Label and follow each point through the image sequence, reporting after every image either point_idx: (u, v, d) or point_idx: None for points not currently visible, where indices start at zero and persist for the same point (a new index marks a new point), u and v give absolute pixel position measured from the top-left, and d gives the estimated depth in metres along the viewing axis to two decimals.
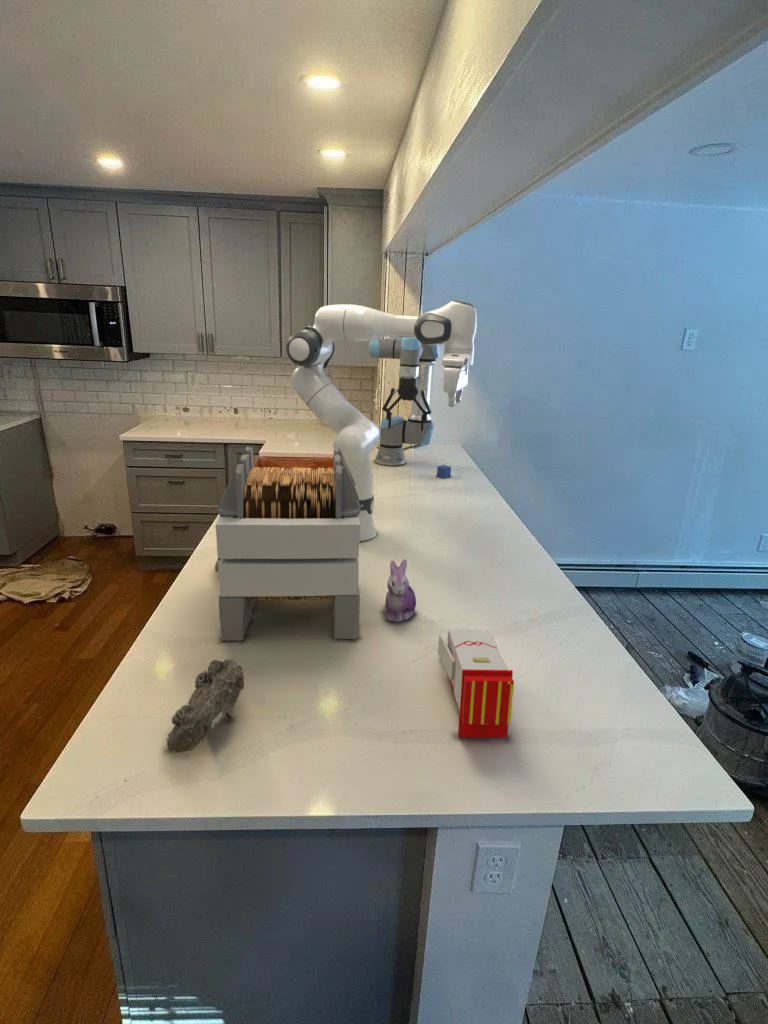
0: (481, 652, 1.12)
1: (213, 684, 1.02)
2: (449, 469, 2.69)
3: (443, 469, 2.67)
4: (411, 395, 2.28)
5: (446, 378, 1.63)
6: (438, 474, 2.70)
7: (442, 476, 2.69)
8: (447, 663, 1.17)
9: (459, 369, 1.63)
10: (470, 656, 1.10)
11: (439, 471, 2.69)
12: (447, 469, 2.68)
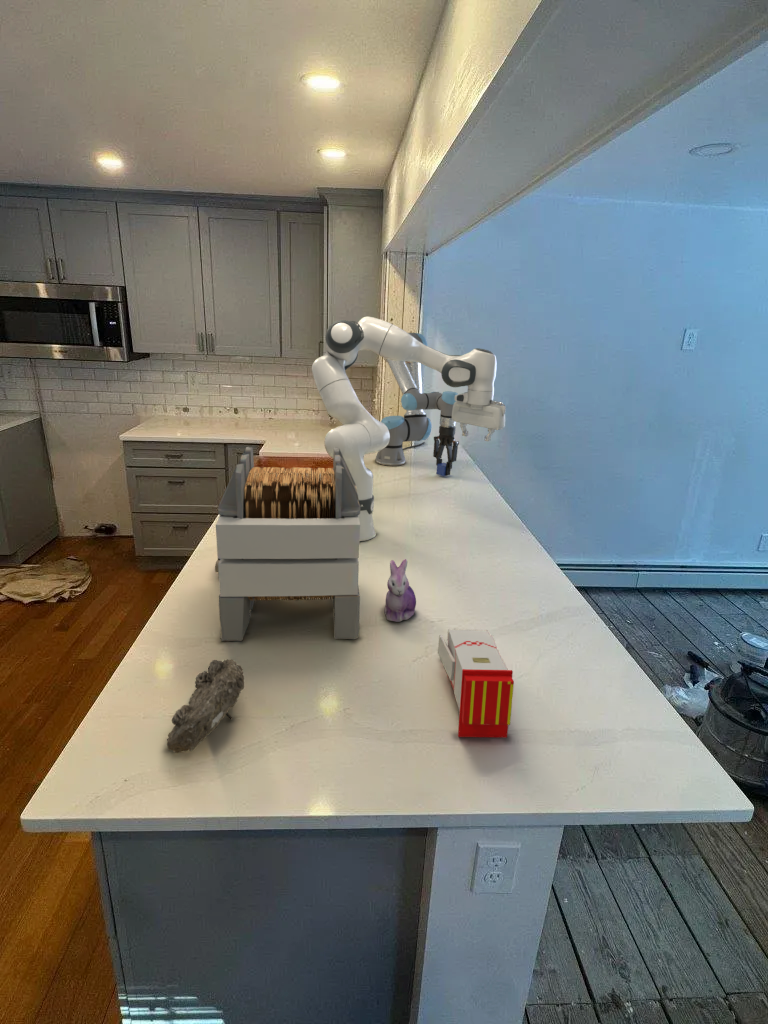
0: (481, 652, 1.12)
1: (213, 684, 1.02)
2: None
3: (443, 467, 2.67)
4: None
5: None
6: (438, 472, 2.70)
7: (442, 474, 2.69)
8: (447, 663, 1.17)
9: (455, 402, 1.98)
10: (470, 656, 1.10)
11: (438, 468, 2.69)
12: None
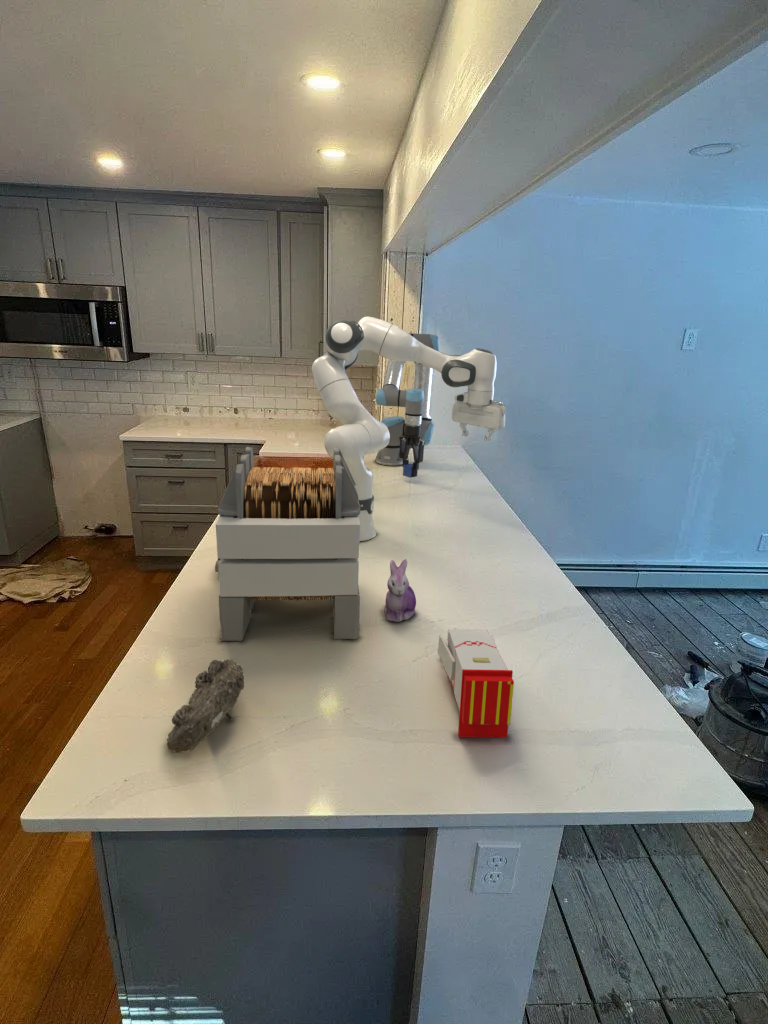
0: (481, 652, 1.12)
1: (213, 684, 1.02)
2: None
3: (409, 468, 2.55)
4: None
5: None
6: (404, 473, 2.58)
7: (408, 475, 2.56)
8: (447, 663, 1.17)
9: (455, 402, 1.98)
10: (470, 656, 1.10)
11: (405, 470, 2.57)
12: None
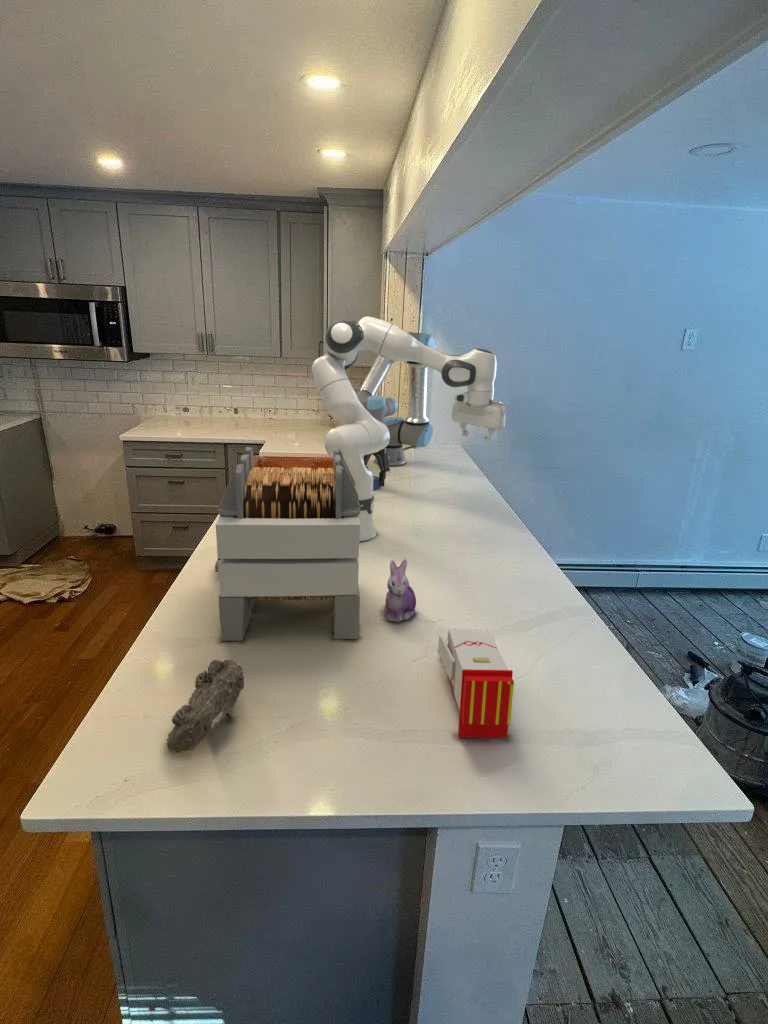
0: (481, 652, 1.12)
1: (213, 684, 1.02)
2: (378, 480, 2.47)
3: None
4: None
5: None
6: None
7: None
8: (447, 663, 1.17)
9: (455, 402, 1.98)
10: (470, 656, 1.10)
11: None
12: (376, 480, 2.46)
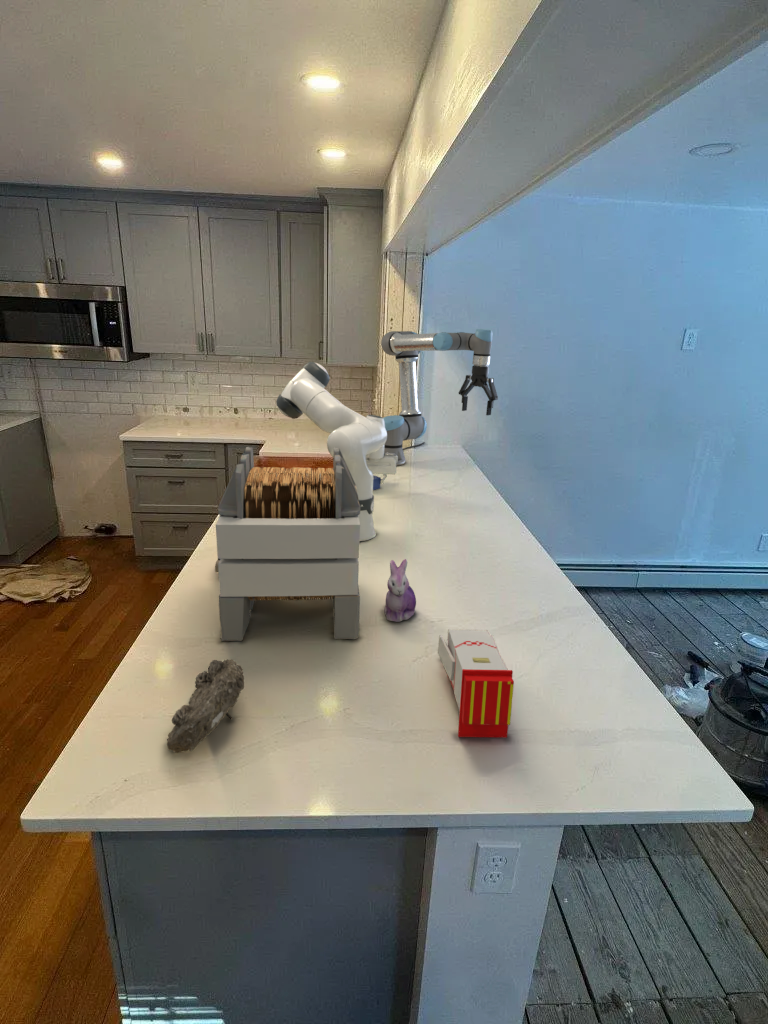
0: (481, 652, 1.12)
1: (213, 684, 1.02)
2: (378, 480, 2.47)
3: None
4: None
5: None
6: None
7: None
8: (447, 663, 1.17)
9: None
10: (470, 656, 1.10)
11: None
12: (376, 480, 2.46)
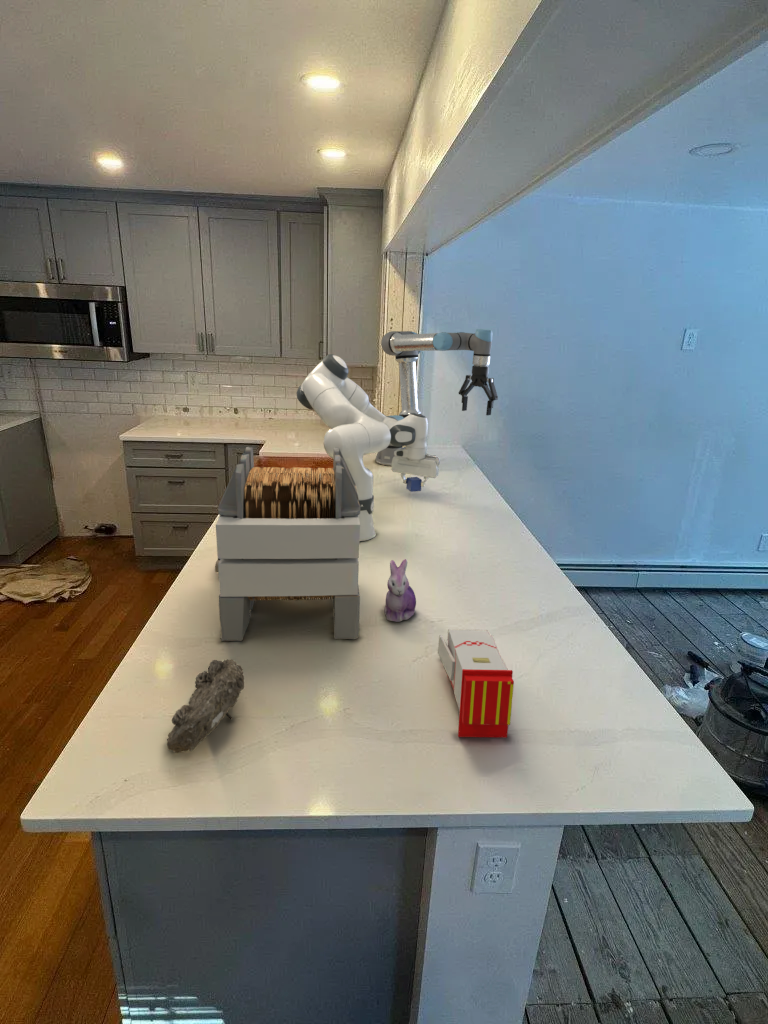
0: (481, 652, 1.12)
1: (213, 684, 1.02)
2: (419, 482, 2.37)
3: (410, 481, 2.36)
4: None
5: None
6: (407, 486, 2.39)
7: (409, 489, 2.37)
8: (447, 663, 1.17)
9: (394, 456, 2.36)
10: (470, 656, 1.10)
11: (407, 483, 2.39)
12: (415, 482, 2.36)
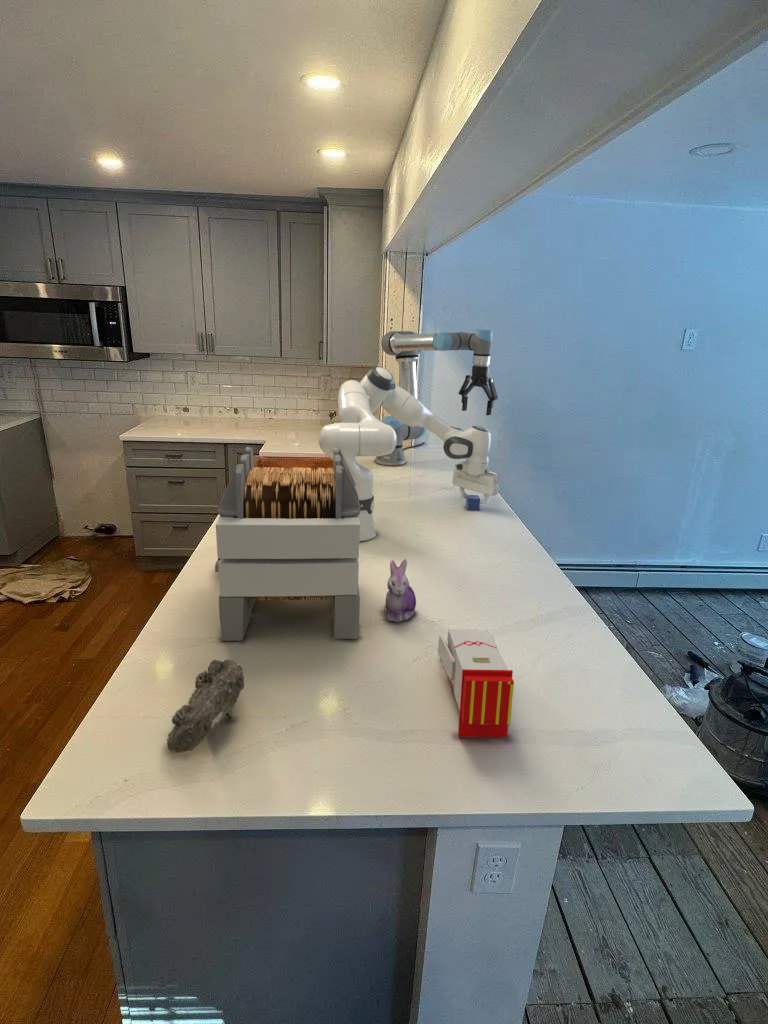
0: (481, 652, 1.12)
1: (213, 684, 1.02)
2: (477, 501, 2.26)
3: (468, 499, 2.26)
4: None
5: None
6: (466, 504, 2.30)
7: (467, 507, 2.28)
8: (447, 663, 1.17)
9: (455, 469, 2.28)
10: (470, 656, 1.10)
11: (466, 500, 2.29)
12: (473, 500, 2.26)
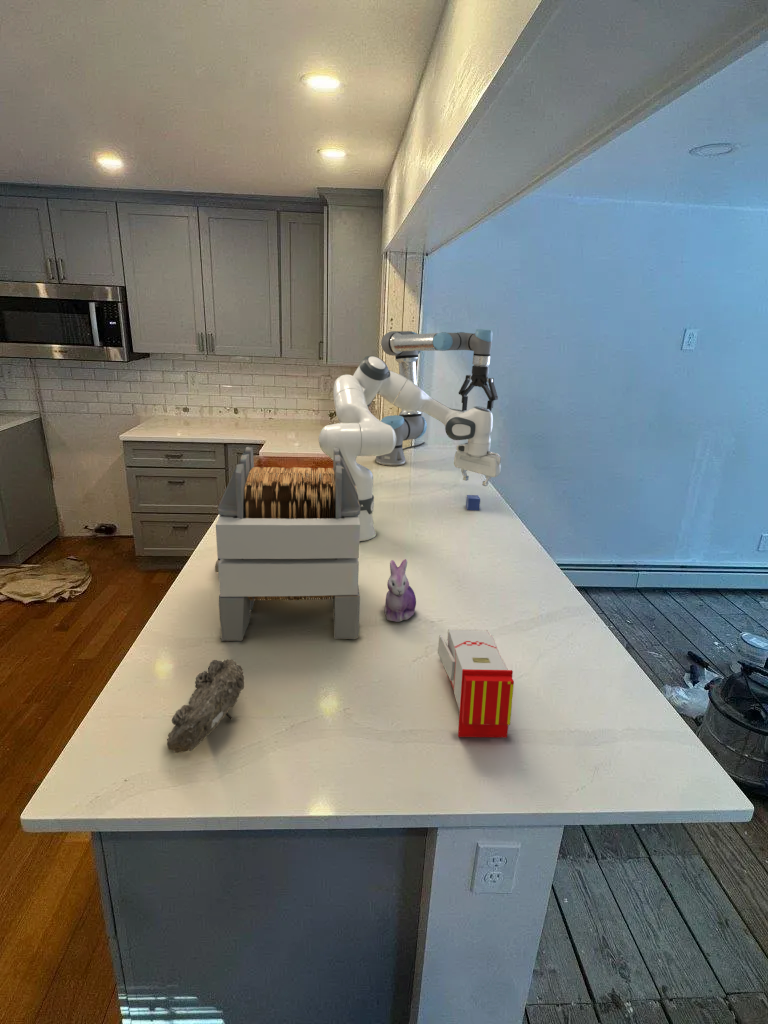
0: (481, 652, 1.12)
1: (213, 684, 1.02)
2: (477, 501, 2.26)
3: (468, 499, 2.26)
4: None
5: None
6: (466, 504, 2.30)
7: (467, 507, 2.28)
8: (447, 663, 1.17)
9: (456, 451, 2.26)
10: (470, 656, 1.10)
11: (466, 500, 2.29)
12: (473, 500, 2.26)
